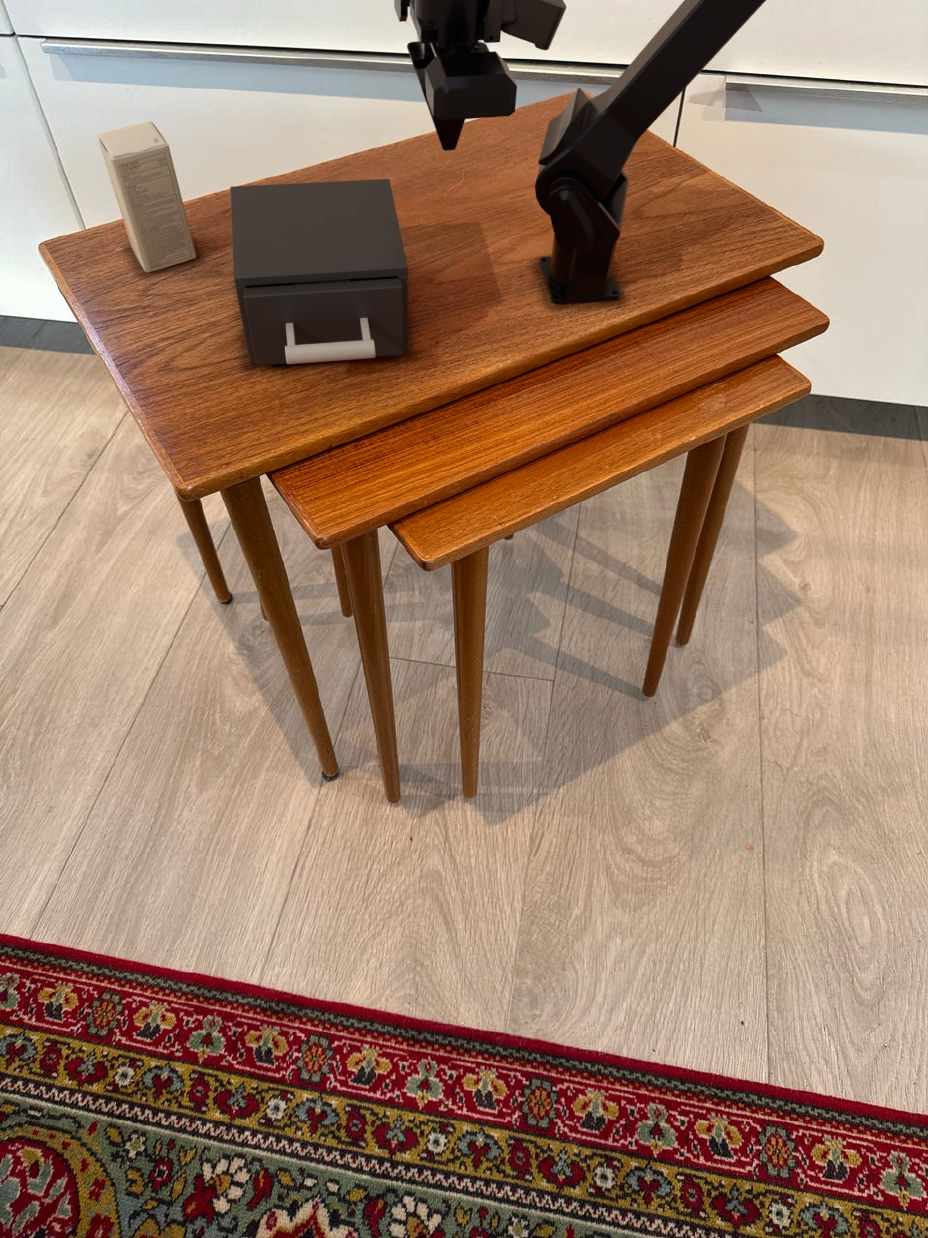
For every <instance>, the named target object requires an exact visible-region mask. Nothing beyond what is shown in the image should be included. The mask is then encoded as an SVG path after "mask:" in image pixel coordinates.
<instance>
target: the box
mask: <svg viewBox="0 0 928 1238" xmlns="http://www.w3.org/2000/svg"><path fill="white" fill-rule="evenodd" d="M96 138H97V141H98V144H99V147H100V150H101V154H102V157H103V160H104V164H105V166H106V170H107V173H108V176H109V179H110V183H111V185H112V188H113V189H112V190H113V192H114V195H115V198H116V202H117V204H118V207H119V208H118V209H119V211H120V214H121V217H122V221H123V224H124V227H125V230H126V233H127V237H128V240H129V243H130V246H131V250H132V251H133V253H134V255H135V257H136V258H137V261H138V262H139V264H140V266H141V267H142V269H143V271H144V272H145V273H151V272H155V271H159V270H162V269H166V268H169V267H172V266H175V265H179V264H182V263H185V262H188V261H190V260H194V259H196V258H197V253H196V248H195V244H194V241H193V240H194V239H193V236H192V233H191V229H190V225H189V221H188V217H187V213H186V209H185V205H184V201H183V198H182V193H181V189H180V185H179V182H178V177H177V174H176V169H175V165H174V161H173V157H172V154H171V149H170V144H169V143H168V142H167V140H166V138H165V137H164V135H163V134H162V133H161V131H160V130H159V128H158V127H157V126H156V124H155V123H154V122H153V121H151V120H150V121H145V122H142V123H141V122H140V123H138V124H133V125H129V126H125V127H121V128H118V129H114V130H109V131H105V132H101V133H98V134H97V135H96Z"/></svg>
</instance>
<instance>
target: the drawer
mask: <svg viewBox="0 0 928 1238" xmlns="http://www.w3.org/2000/svg"><path fill="white" fill-rule="evenodd" d="M350 280H351V281H348V282H332V283H317V284H301V285H295V283H283V284H267V285H253V286H254V288H244V300H245V306H246V311H247V317H248V322H249V328H250V333H251V338H252V344H253V349H254V355H255V360H256V366H269V365H281V364H282V365H284V364H287V365H298V364H311V363H323V362H324V363H325V362H336V361H337V362H338V361H339V362H340V361H350V360H351V361H352V360H364V359H365V360H366V359H375V358H378V357H389V356H390V357H391V356H403V355H404V354H403V303H402V283H401V279H400V278H395V279H390V277H378V278H362V279H350Z"/></svg>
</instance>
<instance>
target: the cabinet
mask: <svg viewBox="0 0 928 1238" xmlns="http://www.w3.org/2000/svg"><path fill="white" fill-rule="evenodd" d="M229 190H230V191H229V192H230V216H231V217H230V218H231V239H232V240H231V241H232V266H233V267H232V269H233V281H234V286H235V291H236V297H237V303H238V309H239V313H240V318H241V323H242V328H243V334H244V340H245V345H246V350H247V355H248V359H249V364H250V365H251V366H253V365H254V366H255V365H256V360H255V355H254V349H253V344H252V338H251V333H250V328H249V322H248V317H247V311H246V306H245V300H244V288H254V286H253V285H267V284H283V283H299V282H315V281H331V280H346V279H362V278H378V277H390V279H395V278H400V279H401V283H402V303H403V355H404V354H408V353H409V267H408V262H407V258H406V253H405V248H404V243H403V238H402V232H401V228H400V224H399V218H398V213H397V210H396V209H397V208H396V205H395V200H394V194H393V191H392V184H391V181H390V178H377V179H375V178H374V179H357V180H356V179H355V180H336V181H335V180H334V181H333V180H332V181H314V182H295V183H293V182H292V183H276V184H256V185H254V184H253V185H237V186H236V185H235V186H230V187H229ZM256 366H257V365H256Z"/></svg>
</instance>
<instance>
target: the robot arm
mask: <svg viewBox="0 0 928 1238" xmlns="http://www.w3.org/2000/svg"><path fill="white" fill-rule="evenodd" d="M766 1H767V0H683V1H682V2H681V3H680V5H679V6H678V7H677V8H676V10H674V12H673V13H672V14H671V15H670V16H669V17H668V18H667V20H666V22H664V24H663V25H662V26H661V28H659V29H658V30H657V32H656V33H655V34H654V36H653V37H652V38H651V39H650V40H649V42H648V43H647V44H646V45H645V46H644V47H643V49H642V50H641V51H640V52H639V53H638V55H636V57H635V58H634V59H633V60H632V61H631V63H630V64H629V65H628V66H627V67H626V68H625V70H624V71H623V72H622V73H621V75H619V77H618V78H617V79H616V80H615V81H614V83H613V84H612V85H611V86H609V88H607V90H605V91H604V92H601V93H600V94H597V95H596V96H594V97H592V98H591V99H590V98H589V97H588V96H587V94H585V92H584V91H583V89H582V88H580V87H578V88H576V90H575V92H574V93H573V95H572V96H571V98H570V100H569V102H568V104H567V105H566V106H565V108H564V109H563V110H562V111H561V113H560V114H558V115H557V116H555V117H553V118H552V119H549V121H548V124H547V128H546V131H545V134H544V139H543V142H542V147H541V150H540V153H539V157H538V161H537V164H538V165H539V168H538V171H537V176H536V179H535V183H534V191H535V198H536V200H537V203H538V204H539V207H540V208H541V209H542V210H543V211H544V212H545V214H547V216H549V218H550V222H551V225H552V230H553V241H552V248H551V256H541V257H540V258H539V259H538V265H539V268H540V272H541V274H542V277H543V281H544V284H545V286H546V289H547V293H548V295H549V298H550V301H551V303H553V304H556V305H559V304H574V303H588V302H590V303H591V302H602V301H603V302H605V301H615V300H616V301H617V300H619V299H620V295H621V292H620V289H619V286H618V284H617V281H616V279H615V277H614V274H613V271H612V270H613V264H614V259H615V255H616V250H617V245H618V240H619V238H620V236H621V232H622V226H623V220H624V214H625V207H626V203H627V196H628V190H629V183H630V179H629V176H627V174H626V173H625V172H624V170H623V169H624V167H625V165H626V163H627V161H628V160H629V158H630V156H631V153H632V152H633V150H634V148H635V146H636V145H637V143H638V142H639V140H640V138H641V137H642V136H643V135H644V134H645V133H646V131H647V130H648V129H649V128H650V127H651V126H652V125H653V124H654V123H655V122H656V121H657V119H658V118H660V116H661V115H662V114H663V113H664V112H665V111H666V110H667V109H668V108H669V106H671V104H672V103H673V102H674V101H675V100H676V99H677V98H678V97H679V96H680V94H681V93H682V92H683V91H684V90H685V89H686V88H687V87H688V86H689V85H690V84H691V83H692V82H693V80H694V79H695V78H696V77H697V76H698V75H699V74H700V73H701V72H702V71H703V69H705V68H706V66H707V65H709V63H710V62H711V61H712V60H713V59H714V57H715V56H717V55H718V54H719V52H720V51H721V50H722V49H723V48H724V47H725V46H726V45H727V44H728V43H729V41H730V40H732V38H733V37H734V36H735V35H736V34H737V33H738V32H739V31H740V29H741V28H743V26H744V25H745V24H746V23H747V22H748V21H749V20H750V19H751V18H752V16H754V14H755V13H756V12H757V11H758V10H759V9H760V8H761V7H762V6H763V4H764V3H765V2H766ZM393 7H394V11H395V13H396V16H397V20H398V22H399V23H401V22H408V21H407V20H408V16H409V15H410V18H411V21H412V24H413V26H414V29H415V31H416V35H417V37H416V38H417V39H416V40H417V41H410V42H408V43H407V45H406V48H407V52H408V55H409V57H410V61H411V63H412V66H413V69H414V72H415V73H416V77H417V80H418V84H419V86H420V88H421V91H422V95H423V97H424V99H425V102H426V106H427V108H428V111H429V115H430V117H431V120H432V123H433V126H434V128H435V131H436V134H437V137H438V140H439V143H440V145H441V148H442V150H443V151H444V152H445V151H454V150H456V149H457V146H458V142H459V140H460V136H461V134H462V131H463V128H464V125H465V122H466V120H473V119H486V118H501V117H510V116H511V115H513V114H514V113H515V112H516V105H517V92H518V85H517V83H516V80H515V78H514V76H513V74H512V72H511V69H510V67H509V66H508V64H507V62H506V61H505V60H504V59H503V58H502V57H501V56H500V54H499V53H498V52H497V51H495V50H494V51H491V50H490V48H489V47H488V45H487V44H495V43H496V44H497V43H501V38H502V37H501V35H502V34H501V33H502V32H503V33H504V34H506V35H509V36H510V37H511V36H512V37H514V38H517V39H520V40H522V41H525V42H527V43H531V44H532V45H534V47H535V48H536V49H538V50H542V51H549V50H550V47H551V45H552V43H553V40H554V38H555V36H556V33H557V32H558V28H559V26H560V24H561V21H562V19H563V17H564V14H565V12H566V10H567V4H566V3H565V1H564V0H393Z"/></svg>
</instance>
